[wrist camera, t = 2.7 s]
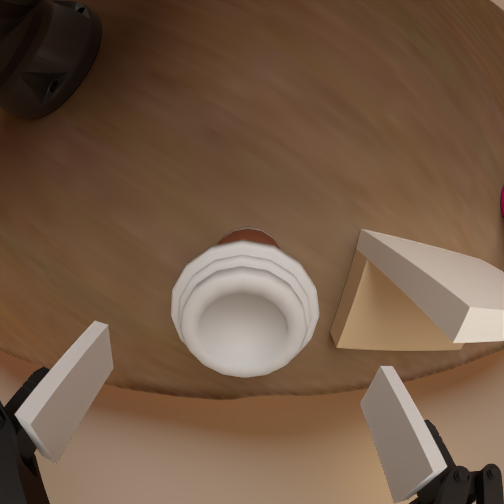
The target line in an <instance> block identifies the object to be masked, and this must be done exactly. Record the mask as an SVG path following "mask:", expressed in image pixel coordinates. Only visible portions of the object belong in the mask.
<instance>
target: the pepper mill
mask: <svg viewBox="0 0 504 504" xmlns="http://www.w3.org/2000/svg"><path fill="white" fill-rule="evenodd" d="M501 210H502V214H503V217H504V187H503V190H502V195H501Z"/></svg>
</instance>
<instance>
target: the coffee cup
mask: <svg viewBox="0 0 504 504" xmlns="http://www.w3.org/2000/svg"><path fill="white" fill-rule="evenodd" d="M319 315H320V314H319V306H318V297H317V290H316V287H315V285H314V283H313V282H312V280H311V279H310V277H309V275H308V274H307V272H306V271H305V269H304V268H303V266H302V265H301V263H300V262H299V261H298V260H296V259H295V258H293V257H292V256H290V255H288V254H287V253H285V252H284V251H282V250H281V248H280V246H279V245H278V243H277V242H276V240H275V239H274V237H273V236H271V235H270V234H268V233H267V232H265V231H263V230H262V229H257V228H252V227H244V228H239V229H235V230H233V231H231V232H230V233H228V234H227V235H226V236H224V237H223V238H222V240H221V241H220V242H219V243H218V244H217V245H214V246H211V247H210V248H208V249H207V250H205V251H204V252H202V253H201V254H200V255H198V256H197V257H195V258H194V259H192V260H191V261H190V262H188V264H187V265H186V267H185V268H184V270H183V272H182V274H181V275H180V277H179V279H178V280H177V282H176V284H175V286H174V288H173V289H172V303H171V317H172V320H173V322H174V325H175V327H176V330H177V332H178V335H179V337H180V339H181V340H182V342H183V343H184V344H185V345H186V346H187V348H188V350H189V351H190V352H191V353H192V354H193V355H194V356H195V357H196V358H197V359H198V360H199V361H200V362H201V363H202V364H203V365H205V366H207V367H209V368H211V369H213V370H215V371H217V372H219V373H221V374H224V375H230V376H236V377H243V378H247V377H254V376H261V375H267V374H269V373H271V372H273V371H275V370H277V369H279V368H281V367H283V366H285V365H287V364H288V363H289V362H290V361H291V360H292V359H293V358H294V357H295V356H296V355H297V354H298V353H299V352H300V351H301V350H302V349H303V348H304V346H305V345H306V344H307V343H308V342H309V341H310V340H311V338H312V335H313V332H314V330H315V327H316V324H317V321H318V318H319Z"/></svg>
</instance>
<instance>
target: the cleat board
mask: <svg viewBox="0 0 504 504" xmlns="http://www.w3.org/2000/svg"><path fill="white" fill-rule="evenodd" d="M330 333H331V336H332V338H333V341H334V343H335V346H336V348H347V349H365V350H393V351H437V350H461V348H462V346H463V344H464V343H470V342H491V341H504V272H503V271H501V270H499V269H497V268H496V267H494V266H492V265H490V264H489V263H487V262H485V261H483V260H481V259H478V258H474V257H471V256H467V255H464V254H460V253H457V252H453V251H449V250H446V249H442V248H438V247H435V246H431V245H427V244H423V243H419V242H415V241H411V240H407V239H403V238H399V237H395V236H391V235H386V234H382V233H378V232H374V231H369V230H365V229H361V231H360V235H359V239H358V243H357V247H356V250H355V254H354V258H353V261H352V265H351V268H350V272H349V275H348V278H347V282H346V285H345V288H344V291H343V294H342V297H341V300H340V304H339V307H338V310H337V312H336V315H335V318H334V321H333V324H332V327H331V330H330Z"/></svg>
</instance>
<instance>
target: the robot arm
mask: <svg viewBox="0 0 504 504" xmlns="http://www.w3.org/2000/svg"><path fill="white" fill-rule="evenodd" d="M100 39H101V22H100V19H99V17H98V15H97V14H96V13H95V12H94V11H93V10H92V9H90V8H89V7H88V6H86V5H85V4H83V3H80V2H76V1H69V0H0V107H1V108H3V109H4V110H6V111H7V112H9V113H10V114H12V115H14V116H17V117H21V118H39V117H42V116H45V115H47V114H49V113H50V112H52V111H54V110H55V109H56V108H58V107H59V106H60V105H61V104H62V103H63V102H65V101H66V100H67V99H68V97H69V96H70V95H71V94H72V93H73V92H74V91H75V89H76V88H77V87H78V86H79V84H80V83H81V81H82V80H83V78H84V77H85V75H86V73H87V72H88V70H89V68H90V66H91V64H92V62H93V60H94V58H95V56H96V53H97V50H98V47H99V44H100ZM113 368H114V366H113V360H112V353H111V345H110V337H109V328H108V325H107V324H104V323H101V322H97V321H94V322H93V323H92V324H91V325H90V326H89V327H88V328H87V330H86V331H85V332H84V333H83V334H82V335H81V336H80V337H79V338H78V339H77V340H76V342H75V343H74V344H73V345H72V346H71V347H70V348H69V349H68V350H67V352H66V353H65V354H64V355H63V356H62V357H61V358H60V359H59V361H58V362H57V363H56V364H55V365H54V366H53V368H52V369H51V370H49V369H47V368H45V367H42V368H40V369H39V370H37V371H35V372H34V373H33V374H32V375H31V376H30V377H29V378H28V381H26V382H25V383H24V384H23V387H21V388H20V389H19V390H18V391H17V392H16V393H15V395H14V396H13V397H12V399H10V401H9V402H8V403H7V404H6V406H5V407H3V405H2V403H1V401H0V504H50V503H49V500H48V497H47V494H46V491H45V488H44V485H43V482H42V478H41V475H40V471H39V467H38V464H37V460H36V456H35V454H34V452H35V450H36V449H38V450H39V452H40V453H41V455H42V456H44V457H45V458H47V459H49V460H51V461H52V462H54V463H56V464H57V463H58V461H59V460H60V458H61V456H62V454H63V452H64V450H65V448H66V446H67V445H68V443H69V441H70V440H71V438H72V436H73V434H74V432H75V431H76V429H77V427H78V426H79V424H80V422H81V420H82V419H83V417H84V415H85V414H86V412H87V410H88V408H89V407H90V405H91V404H92V402H93V400H94V399H95V397H96V395H97V394H98V392H99V390H100V389H101V387H102V386H103V384H104V382H105V381H106V379H107V378H108V376H109V375H110V373H111V371H112V370H113ZM360 406H361V408H362V411H363V414H364V416H365V419H366V422H367V425H368V427H369V430H370V433H371V436H372V438H373V441H374V444H375V447H376V450H377V453H378V455H379V458H380V461H381V464H382V467H383V470H384V473H385V476H386V479H387V482H388V485H389V489H390V492H391V495H392V498H393V501H394V503H397V502H400V501H404V500H407V499H409V498H410V497H412V496H413V495H414V494H416V493H417V496H418V498H416V499H415V500H413V501H412V502H410V503H409V504H472V503H473V502H475V501H476V504H504V500H503V486H502V476H501V471H500V469H499V468H498V466H496V465H495V464H488V465H486V466H485V467H484V468H483V469H482V470H481V471H473V472H469V471H468V470H467V468H465V467H463V466H456V465H455V463H454V461H453V459H452V458H451V456H450V454H449V452H448V450H447V448H446V446H445V444H444V443H443V442H442V438H441V437H440V436H439V433H438V431H437V429H436V427H435V426H434V425H433V424H432V423H431V422H430V421H429V420H423V418H422V417H421V415H420V413H419V411H418V409H417V407H416V406H415V404H414V402H413V400H412V398H411V397H410V395H409V393H408V392H407V390H406V388H405V387H404V385H403V383H402V381H401V379H400V378H399V376H398V374H397V373H396V371H395V369H394V368H393V366H380V368H379V370H378V371H377V373H376V375H375V377H374V379H373V381H372V383H371V385H370V386H369V388H368V390H367V392H366V394H365V395H364V397H363V399H362V400H361V402H360Z"/></svg>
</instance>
